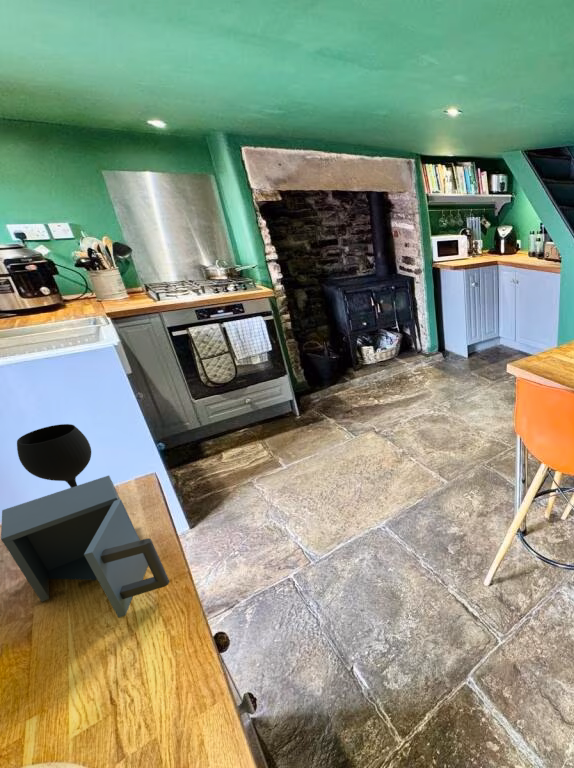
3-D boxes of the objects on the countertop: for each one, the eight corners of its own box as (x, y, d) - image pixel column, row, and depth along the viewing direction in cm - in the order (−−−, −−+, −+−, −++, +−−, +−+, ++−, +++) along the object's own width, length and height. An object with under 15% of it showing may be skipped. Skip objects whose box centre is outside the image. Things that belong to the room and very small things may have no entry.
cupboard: (146, 560, 81) (116, 497, 75) (44, 607, 72) (0, 539, 65) (137, 535, 87) (109, 475, 81) (42, 575, 78) (1, 510, 71)
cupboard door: (188, 550, 84) (163, 489, 77) (173, 605, 72) (143, 538, 66) (143, 563, 80) (114, 500, 74) (120, 622, 69) (83, 554, 63)
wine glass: (78, 525, 90) (37, 449, 81) (39, 519, 91) (-5, 444, 83) (125, 495, 99) (93, 424, 91) (90, 490, 100) (55, 420, 92)
